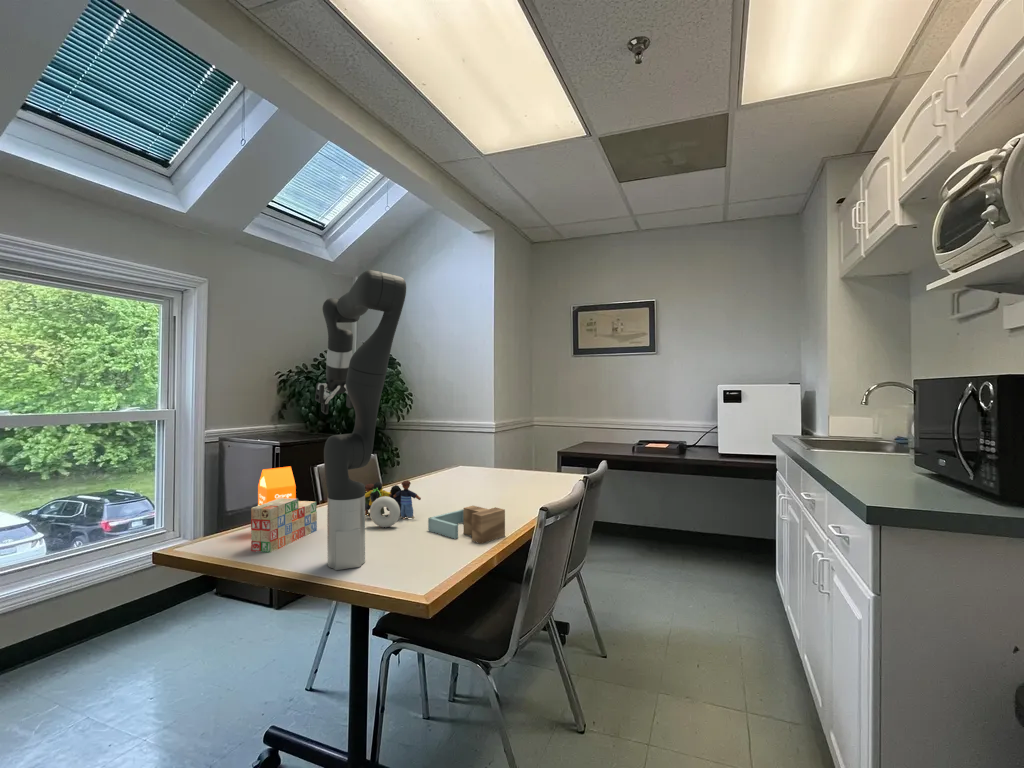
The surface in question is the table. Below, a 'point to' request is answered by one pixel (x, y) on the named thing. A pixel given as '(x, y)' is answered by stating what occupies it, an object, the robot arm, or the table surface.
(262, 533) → the stack of blocks
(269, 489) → the orange juice
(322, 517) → the table surface
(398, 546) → the table surface
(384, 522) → the donut
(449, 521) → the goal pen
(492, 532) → the tee block
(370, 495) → the doll family
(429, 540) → the table surface
